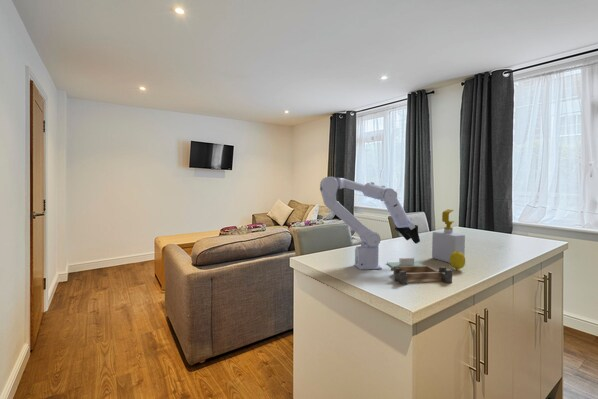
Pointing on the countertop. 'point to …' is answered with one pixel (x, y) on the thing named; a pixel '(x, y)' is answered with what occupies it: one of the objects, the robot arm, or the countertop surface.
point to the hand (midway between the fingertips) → (413, 240)
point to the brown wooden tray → (421, 274)
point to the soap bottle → (447, 241)
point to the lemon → (457, 260)
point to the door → (404, 263)
